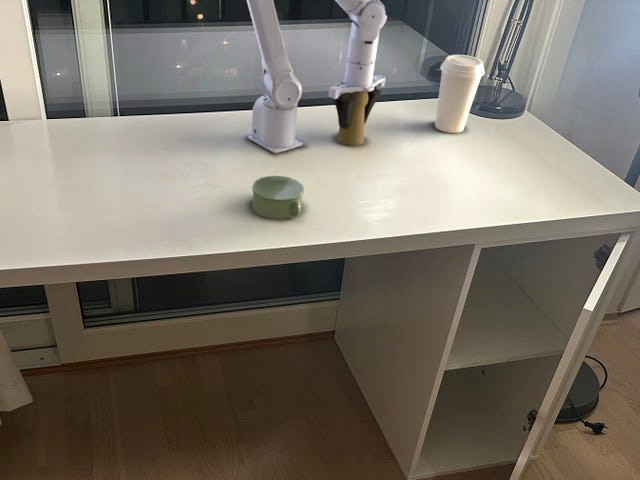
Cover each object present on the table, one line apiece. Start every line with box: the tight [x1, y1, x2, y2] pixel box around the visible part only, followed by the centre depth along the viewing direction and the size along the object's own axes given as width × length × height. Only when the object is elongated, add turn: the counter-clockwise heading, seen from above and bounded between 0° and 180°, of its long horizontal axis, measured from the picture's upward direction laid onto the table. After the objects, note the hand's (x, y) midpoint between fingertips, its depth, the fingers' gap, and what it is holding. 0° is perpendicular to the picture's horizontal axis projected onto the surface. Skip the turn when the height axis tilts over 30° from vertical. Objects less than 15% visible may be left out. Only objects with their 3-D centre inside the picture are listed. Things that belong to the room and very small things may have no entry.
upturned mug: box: [251, 175, 305, 220], centre depth 129 cm, size 11×9×4 cm
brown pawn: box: [336, 91, 368, 147], centre depth 152 cm, size 6×6×11 cm
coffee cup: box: [434, 54, 485, 134], centre depth 158 cm, size 10×10×15 cm
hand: (352, 125), depth 153 cm, fingers closed on brown pawn, 5 cm apart
